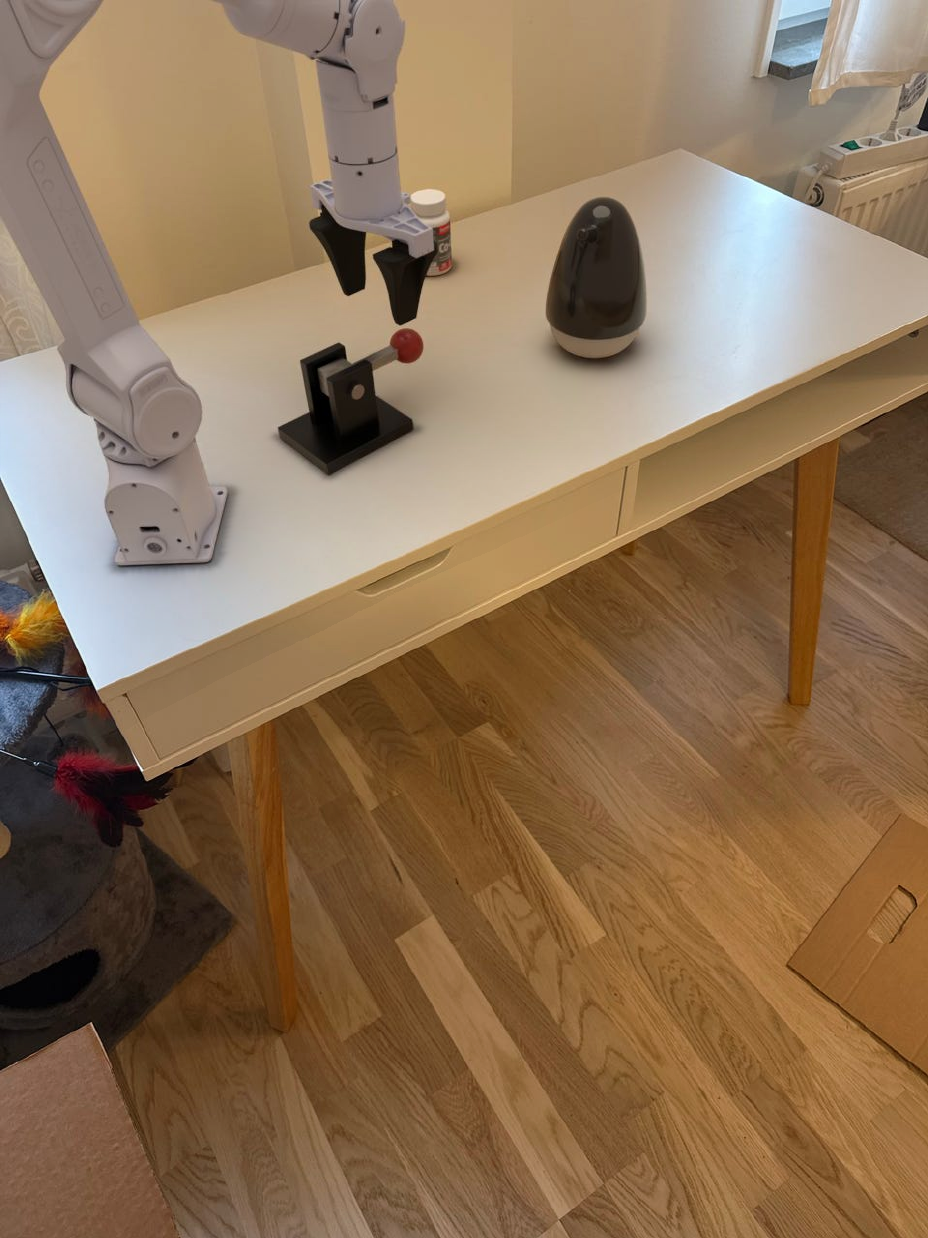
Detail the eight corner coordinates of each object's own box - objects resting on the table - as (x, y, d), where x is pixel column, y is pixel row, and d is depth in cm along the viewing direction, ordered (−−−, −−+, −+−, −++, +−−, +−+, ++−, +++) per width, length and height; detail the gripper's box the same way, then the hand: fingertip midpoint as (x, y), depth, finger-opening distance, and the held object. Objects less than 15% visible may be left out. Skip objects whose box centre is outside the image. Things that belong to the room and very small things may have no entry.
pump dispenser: (527, 358, 97) (530, 212, 86) (567, 312, 103) (574, 170, 92) (620, 381, 93) (635, 231, 82) (655, 332, 99) (674, 187, 88)
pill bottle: (447, 278, 109) (444, 206, 103) (408, 275, 110) (402, 204, 104) (455, 259, 112) (452, 188, 106) (417, 256, 113) (412, 186, 107)
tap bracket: (362, 395, 93) (353, 324, 87) (413, 429, 89) (407, 357, 83) (279, 437, 89) (263, 365, 83) (328, 475, 84) (315, 402, 79)
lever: (410, 348, 91) (407, 318, 88) (431, 360, 89) (429, 330, 87) (318, 393, 86) (312, 362, 83) (338, 407, 84) (333, 376, 82)
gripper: (458, 160, 74) (464, 317, 84) (347, 116, 82) (365, 265, 92) (389, 187, 71) (404, 347, 81) (281, 139, 79) (307, 290, 89)
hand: (379, 305), depth 86 cm, fingers open, 7 cm apart
